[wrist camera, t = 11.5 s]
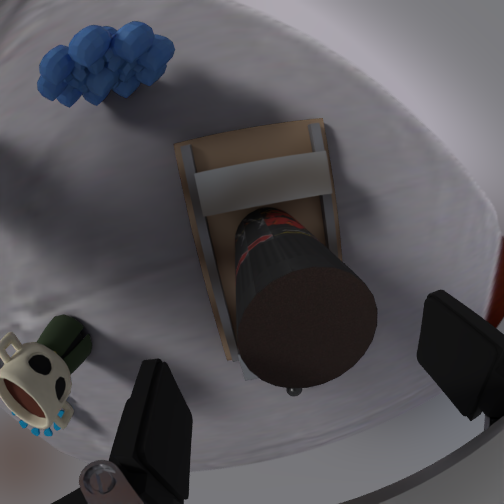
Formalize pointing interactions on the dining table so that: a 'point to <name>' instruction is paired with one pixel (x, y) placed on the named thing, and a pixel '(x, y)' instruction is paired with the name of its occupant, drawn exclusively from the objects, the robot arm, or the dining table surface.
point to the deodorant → (297, 304)
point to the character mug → (43, 372)
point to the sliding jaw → (249, 376)
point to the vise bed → (232, 219)
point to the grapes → (104, 63)
